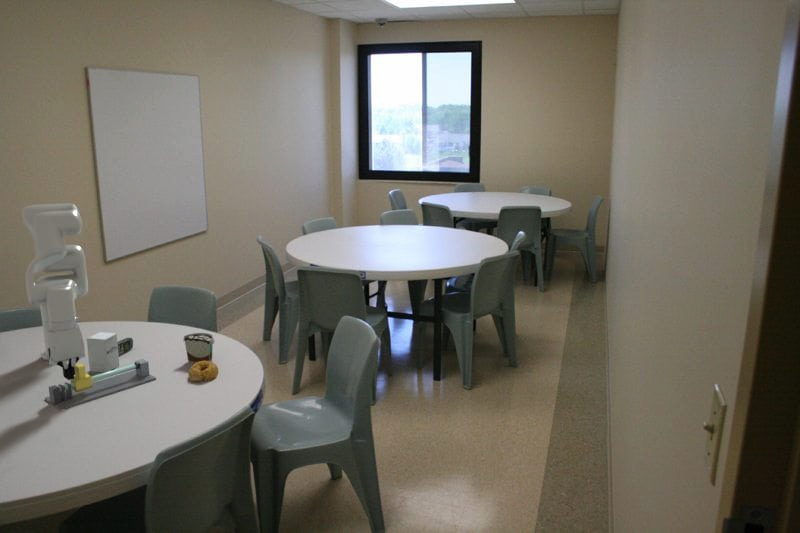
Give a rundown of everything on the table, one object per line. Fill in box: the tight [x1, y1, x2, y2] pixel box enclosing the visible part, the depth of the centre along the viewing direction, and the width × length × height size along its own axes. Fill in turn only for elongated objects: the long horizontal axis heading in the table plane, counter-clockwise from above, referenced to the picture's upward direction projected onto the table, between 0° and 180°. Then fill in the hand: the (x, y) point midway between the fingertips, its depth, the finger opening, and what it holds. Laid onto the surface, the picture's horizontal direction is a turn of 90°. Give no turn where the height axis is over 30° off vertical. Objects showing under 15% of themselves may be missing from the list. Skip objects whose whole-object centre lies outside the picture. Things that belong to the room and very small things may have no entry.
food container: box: [183, 332, 215, 363], centre depth 239 cm, size 12×6×10 cm, turn 71°
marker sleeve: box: [69, 362, 93, 392], centre depth 208 cm, size 4×5×8 cm
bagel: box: [187, 361, 219, 382], centre depth 225 cm, size 10×11×5 cm
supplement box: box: [86, 331, 120, 373], centre depth 230 cm, size 7×7×13 cm
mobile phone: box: [117, 337, 134, 356], centre depth 246 cm, size 5×3×15 cm
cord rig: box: [44, 358, 157, 411], centre depth 214 cm, size 12×32×6 cm, turn 140°
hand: (69, 378), depth 205 cm, fingers closed
